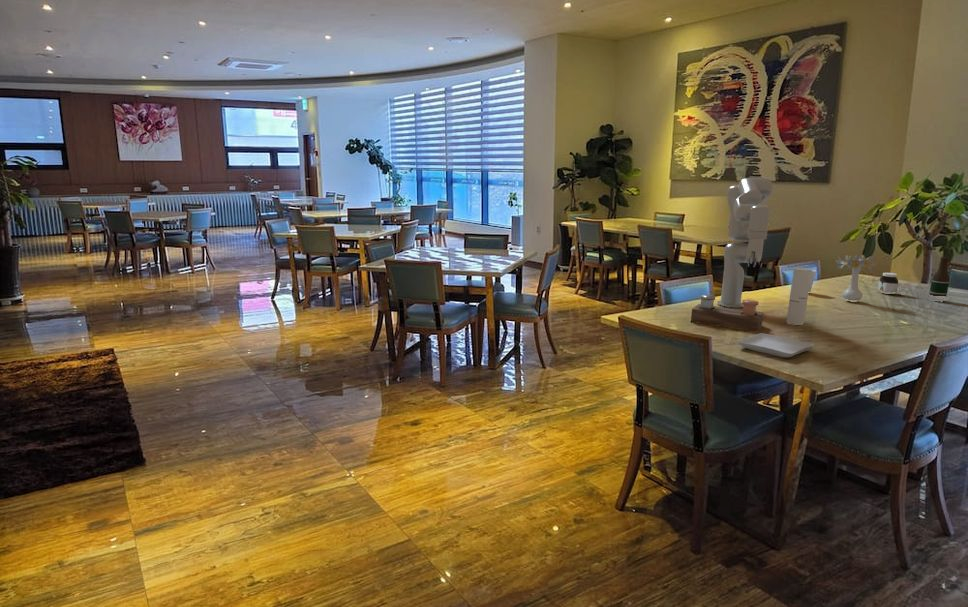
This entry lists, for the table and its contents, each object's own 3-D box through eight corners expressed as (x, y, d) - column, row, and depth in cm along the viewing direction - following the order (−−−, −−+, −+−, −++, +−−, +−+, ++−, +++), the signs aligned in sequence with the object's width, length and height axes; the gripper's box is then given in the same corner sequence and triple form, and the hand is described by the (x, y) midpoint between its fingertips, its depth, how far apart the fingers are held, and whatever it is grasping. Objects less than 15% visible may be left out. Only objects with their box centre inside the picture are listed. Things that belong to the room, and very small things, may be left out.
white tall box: (805, 326, 274) (813, 270, 268) (788, 325, 275) (796, 270, 270) (801, 322, 281) (808, 268, 275) (784, 321, 282) (791, 267, 277)
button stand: (697, 316, 288) (698, 304, 287) (761, 325, 274) (763, 312, 272) (690, 321, 278) (692, 308, 277) (757, 331, 264) (759, 317, 262)
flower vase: (833, 296, 339) (840, 251, 333) (872, 302, 327) (879, 255, 321) (827, 300, 329) (834, 254, 324) (867, 306, 317) (874, 258, 312)
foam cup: (797, 293, 345) (800, 270, 342) (792, 290, 354) (795, 268, 351) (815, 294, 344) (818, 271, 341) (809, 291, 353) (813, 269, 350)
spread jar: (874, 291, 356) (878, 271, 353) (895, 292, 355) (899, 272, 352) (886, 296, 344) (889, 275, 342) (907, 296, 343) (911, 276, 341)
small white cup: (700, 307, 283) (702, 293, 282) (715, 309, 280) (716, 295, 279) (697, 309, 278) (698, 296, 277) (712, 311, 275) (713, 298, 274)
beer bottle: (949, 302, 330) (957, 258, 325) (934, 302, 330) (942, 258, 325) (938, 299, 338) (947, 256, 332) (924, 299, 338) (932, 255, 332)
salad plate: (760, 339, 252) (761, 331, 252) (814, 352, 237) (815, 343, 236) (734, 349, 239) (735, 340, 238) (790, 362, 223) (792, 353, 222)
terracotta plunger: (742, 312, 274) (744, 299, 273) (757, 314, 271) (759, 301, 270) (739, 315, 269) (741, 301, 268) (755, 317, 266) (757, 303, 264)
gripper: (751, 233, 272) (747, 271, 275) (744, 235, 258) (739, 276, 261) (770, 234, 268) (765, 273, 271) (763, 237, 254) (758, 278, 257)
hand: (752, 274), depth 266 cm, fingers open, 9 cm apart
